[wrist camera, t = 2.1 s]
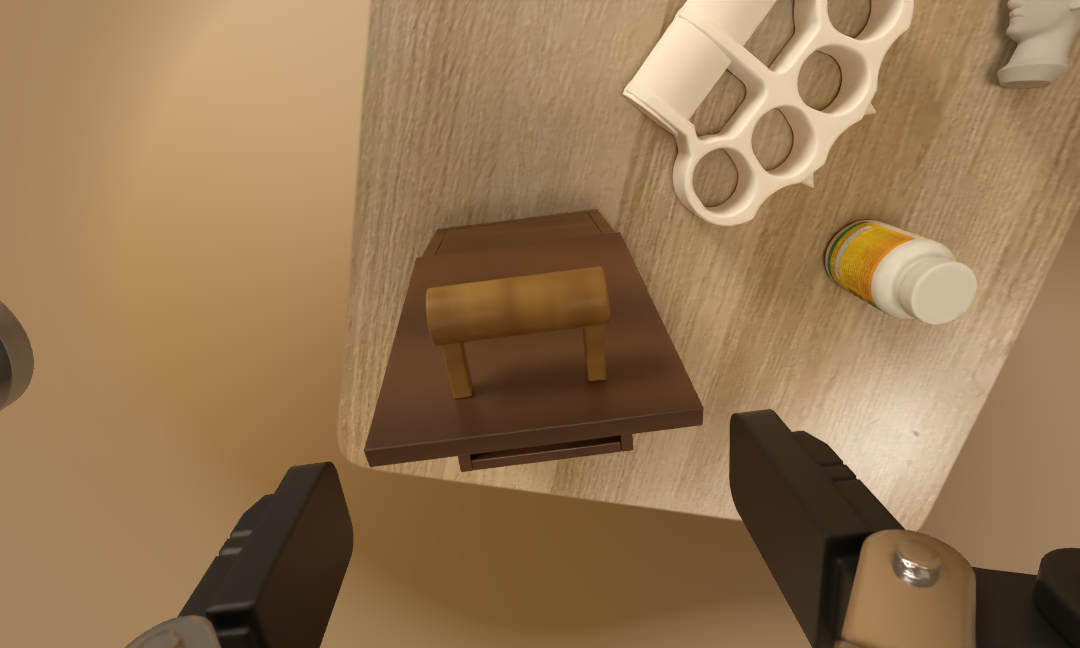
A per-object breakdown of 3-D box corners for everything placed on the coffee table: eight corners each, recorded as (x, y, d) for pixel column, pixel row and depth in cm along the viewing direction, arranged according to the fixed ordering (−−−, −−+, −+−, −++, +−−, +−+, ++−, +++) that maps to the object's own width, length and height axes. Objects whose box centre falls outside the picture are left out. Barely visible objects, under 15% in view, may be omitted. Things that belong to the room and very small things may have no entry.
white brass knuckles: (768, -123, 35) (928, 33, 38) (589, 135, 40) (746, 253, 43) (793, -145, 32) (965, 27, 35) (595, 139, 37) (764, 265, 40)
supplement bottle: (901, 220, 43) (1003, 253, 34) (881, 289, 45) (973, 337, 36) (831, 216, 43) (916, 248, 34) (814, 286, 45) (890, 334, 36)
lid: (702, 425, 20) (710, 294, 17) (369, 468, 20) (324, 343, 17) (620, 244, 33) (617, 153, 31) (419, 270, 33) (397, 181, 31)
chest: (612, 388, 47) (633, 450, 39) (469, 406, 47) (460, 472, 39) (597, 208, 42) (618, 236, 34) (436, 229, 42) (418, 261, 34)
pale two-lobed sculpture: (1024, -48, 38) (1104, -22, 37) (954, 76, 40) (1028, 103, 40) (1065, -75, 34) (1156, -47, 33) (985, 65, 36) (1068, 94, 36)
